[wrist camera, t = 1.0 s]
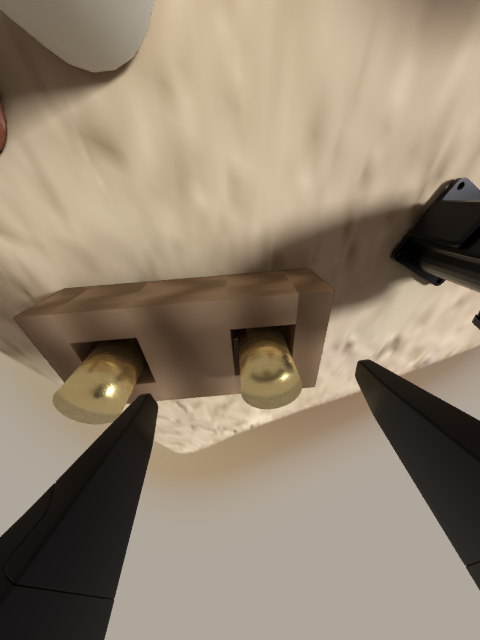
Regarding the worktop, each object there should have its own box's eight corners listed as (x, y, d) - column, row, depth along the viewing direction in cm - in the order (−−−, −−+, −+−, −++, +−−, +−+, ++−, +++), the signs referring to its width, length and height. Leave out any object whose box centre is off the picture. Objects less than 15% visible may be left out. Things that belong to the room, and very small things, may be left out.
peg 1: (138, 334, 16) (105, 383, 12) (153, 369, 18) (130, 421, 14) (88, 338, 16) (38, 389, 12) (109, 372, 18) (73, 426, 14)
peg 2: (284, 321, 16) (305, 366, 12) (282, 357, 18) (299, 406, 14) (236, 325, 16) (239, 371, 12) (239, 361, 18) (243, 411, 14)
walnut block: (309, 268, 18) (335, 290, 13) (298, 352, 23) (315, 386, 19) (64, 288, 17) (12, 317, 13) (111, 368, 23) (84, 407, 19)
